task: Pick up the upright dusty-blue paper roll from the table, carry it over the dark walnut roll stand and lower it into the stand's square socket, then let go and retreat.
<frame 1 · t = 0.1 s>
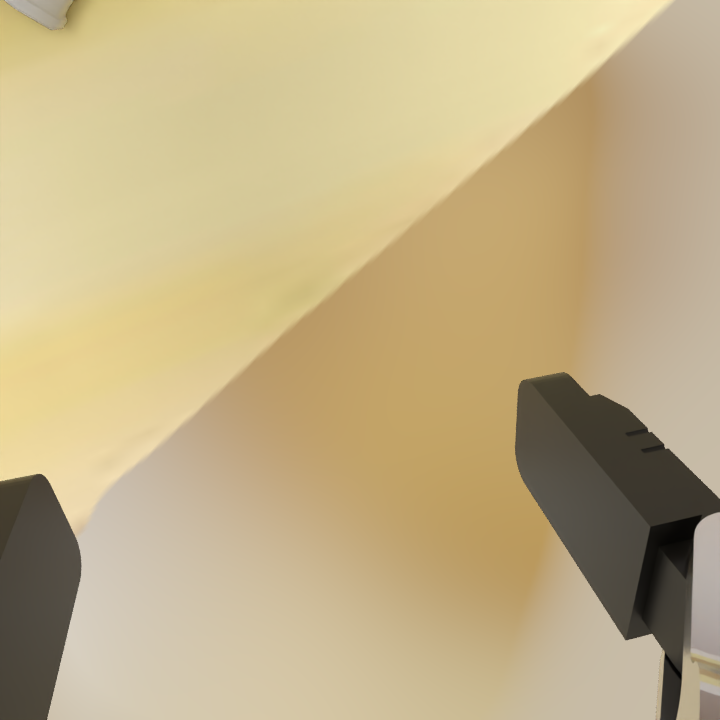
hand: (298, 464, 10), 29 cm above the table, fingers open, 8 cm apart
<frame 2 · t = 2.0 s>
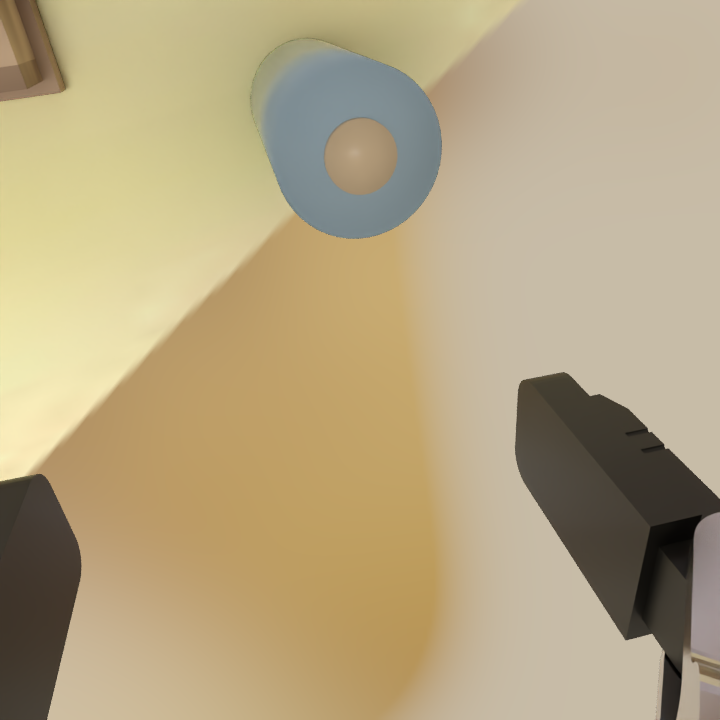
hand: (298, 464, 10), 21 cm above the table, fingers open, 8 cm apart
roll: (308, 102, 28), on the table
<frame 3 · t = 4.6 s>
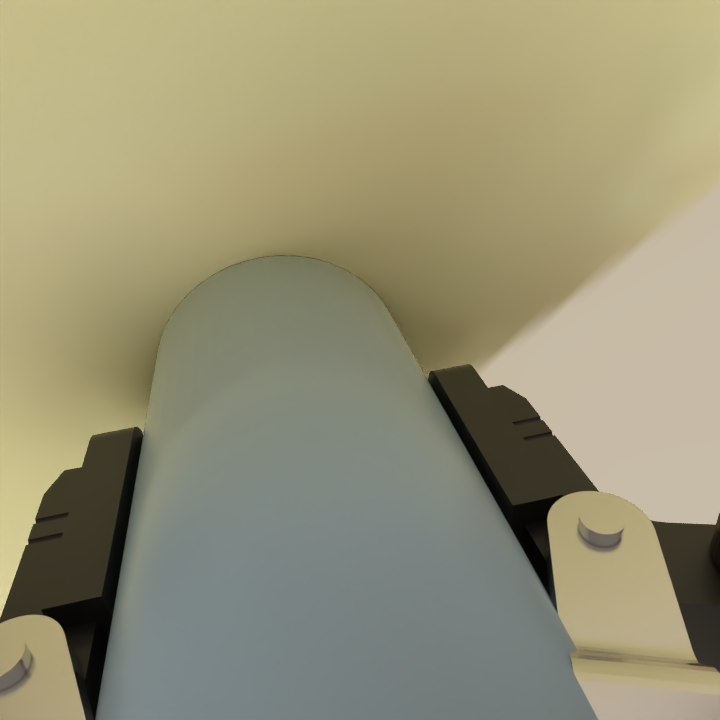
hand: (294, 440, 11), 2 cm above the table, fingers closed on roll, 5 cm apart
roll: (283, 370, 13), on the table, touching gripper
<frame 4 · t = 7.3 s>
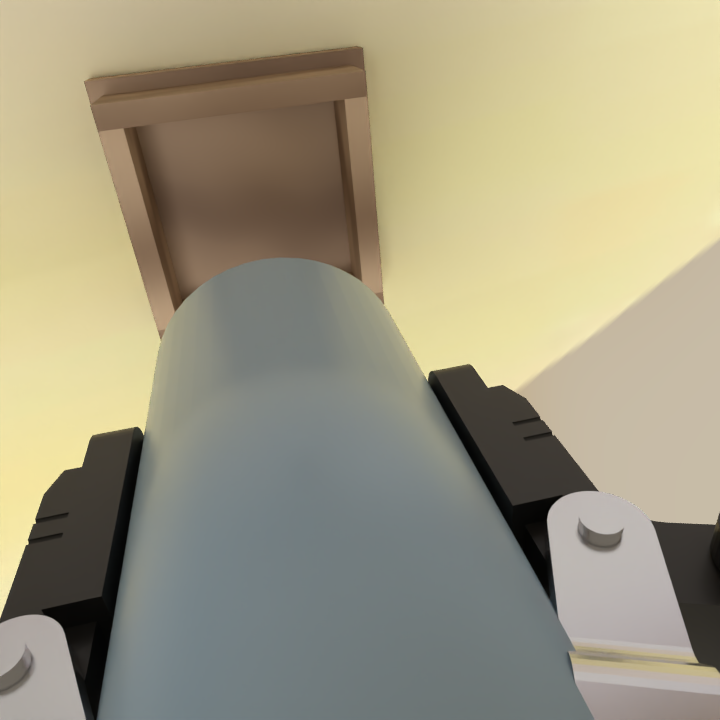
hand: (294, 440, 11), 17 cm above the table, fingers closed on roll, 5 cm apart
holder: (251, 194, 25), on the table
roll: (283, 372, 13), point 14 cm above the table, touching gripper
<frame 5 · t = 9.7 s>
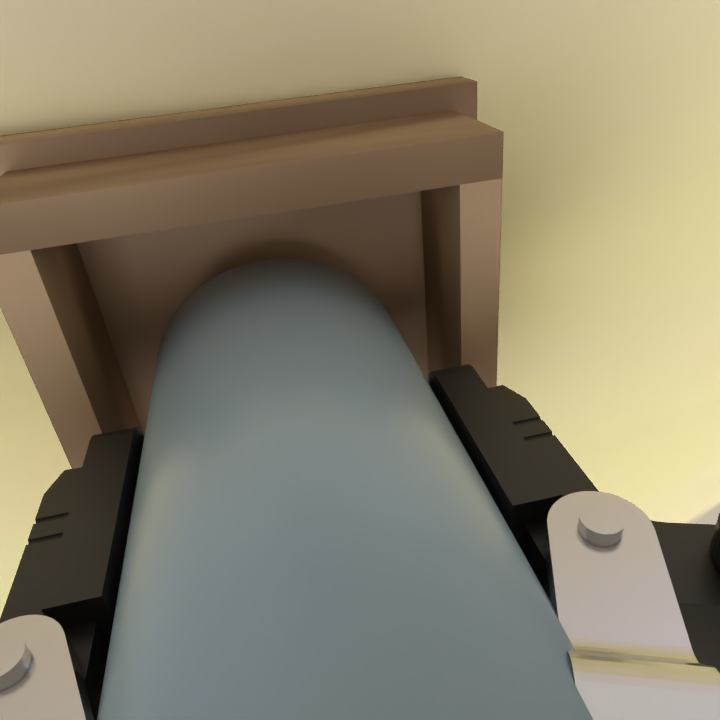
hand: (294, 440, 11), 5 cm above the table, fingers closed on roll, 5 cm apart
holder: (273, 316, 15), on the table
roll: (283, 372, 13), point 3 cm above the table, touching gripper
when the fingers open (5 cm above the table, at t = 10.2 s): roll drops 2 cm, resting on holder.
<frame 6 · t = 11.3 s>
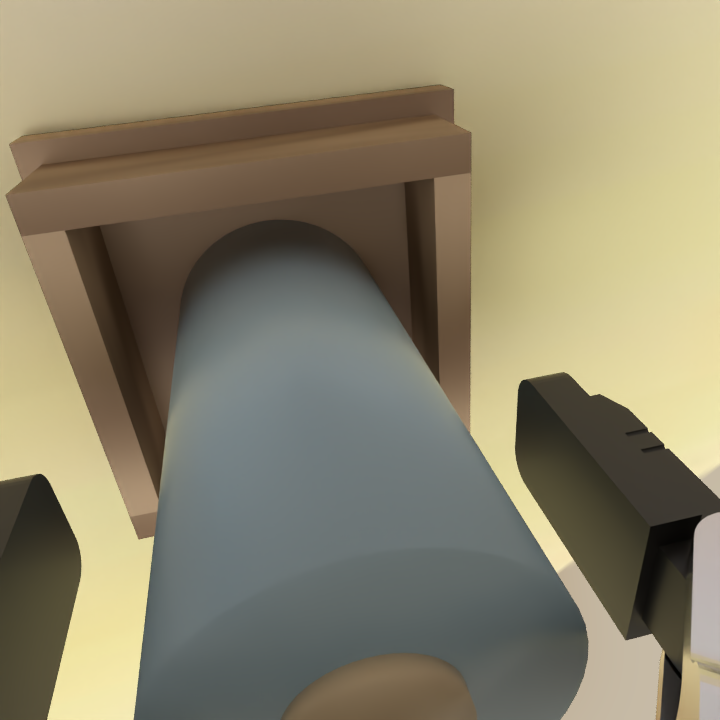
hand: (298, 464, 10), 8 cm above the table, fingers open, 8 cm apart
holder: (273, 298, 17), on the table
roll: (281, 315, 16), point 1 cm above the table, touching holder
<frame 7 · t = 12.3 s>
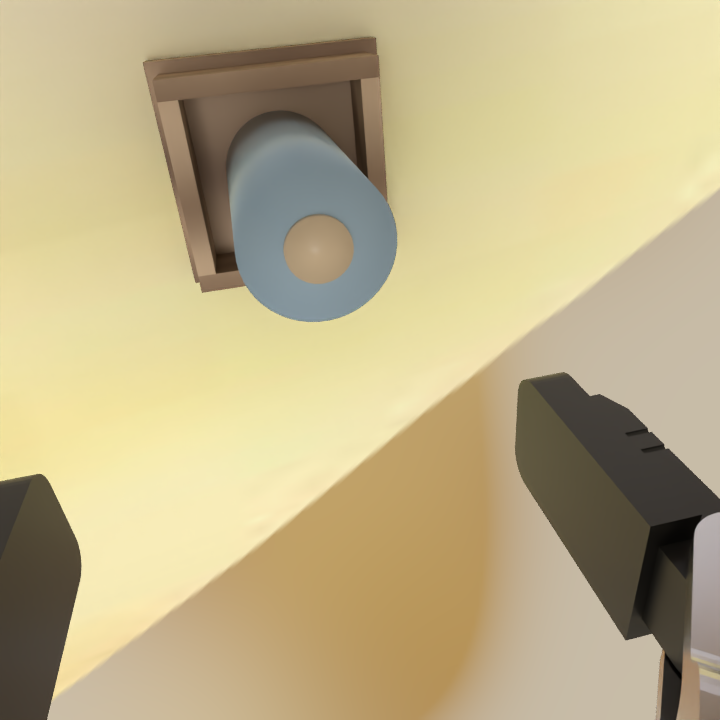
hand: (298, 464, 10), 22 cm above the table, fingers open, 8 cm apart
holder: (277, 164, 30), on the table
roll: (282, 169, 29), point 1 cm above the table, touching holder
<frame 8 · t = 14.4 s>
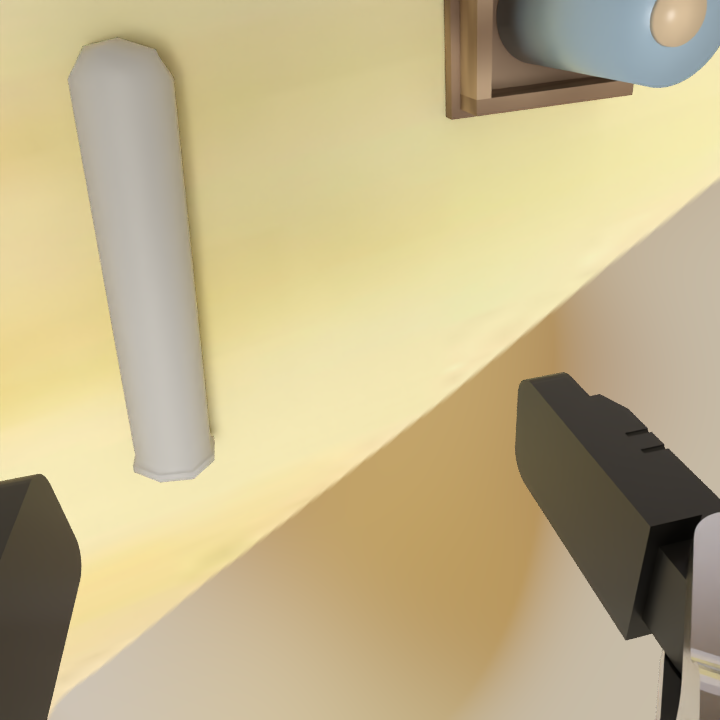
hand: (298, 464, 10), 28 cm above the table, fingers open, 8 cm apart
holder: (531, 9, 34), on the table
tube: (154, 267, 37), on the table
roll: (541, 10, 33), point 1 cm above the table, touching holder
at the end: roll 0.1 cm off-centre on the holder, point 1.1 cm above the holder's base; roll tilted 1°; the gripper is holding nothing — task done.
